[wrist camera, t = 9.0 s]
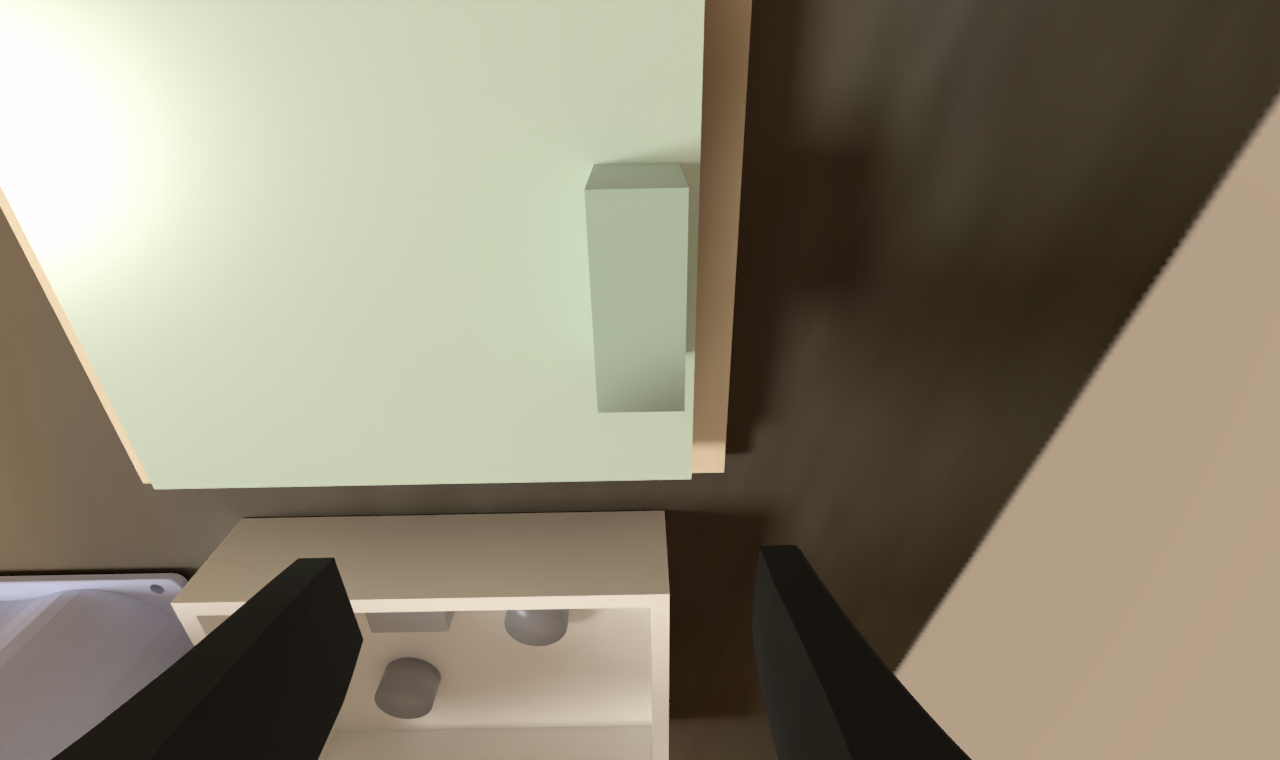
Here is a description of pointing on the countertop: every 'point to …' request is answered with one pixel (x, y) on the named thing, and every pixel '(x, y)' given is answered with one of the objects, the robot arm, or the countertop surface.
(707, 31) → the board
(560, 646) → the tub
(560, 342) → the lid
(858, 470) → the countertop surface
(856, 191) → the countertop surface
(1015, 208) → the countertop surface
